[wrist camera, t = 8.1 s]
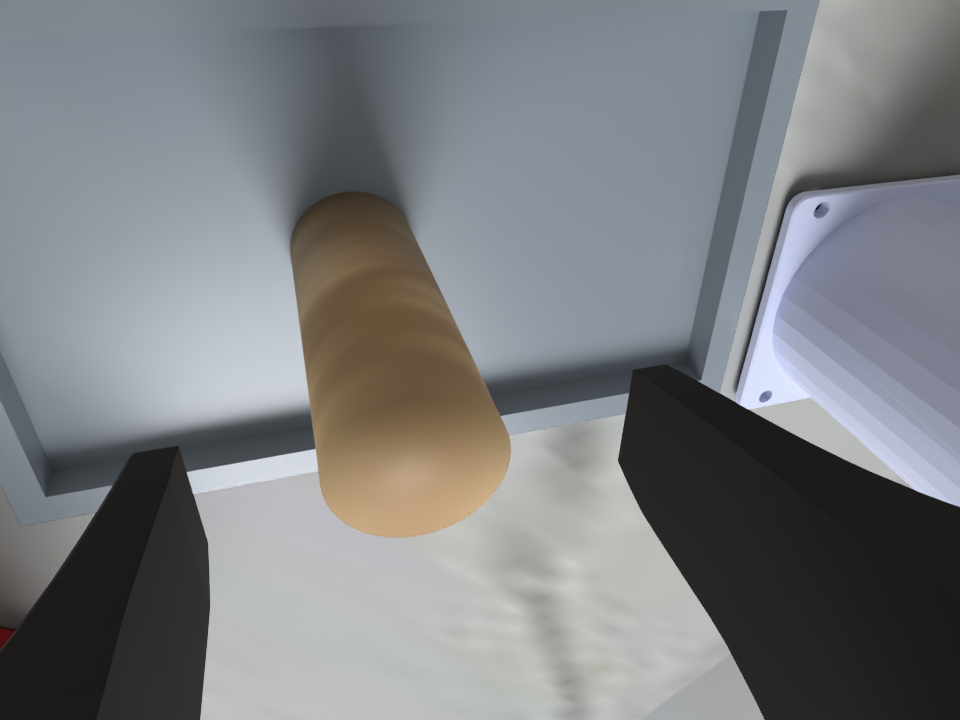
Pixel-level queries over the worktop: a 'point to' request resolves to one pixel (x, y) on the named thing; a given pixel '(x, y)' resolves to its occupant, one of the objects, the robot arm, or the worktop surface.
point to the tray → (371, 169)
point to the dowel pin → (389, 375)
